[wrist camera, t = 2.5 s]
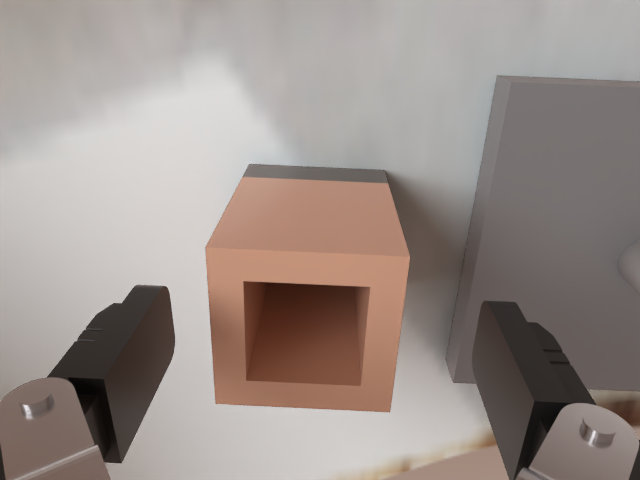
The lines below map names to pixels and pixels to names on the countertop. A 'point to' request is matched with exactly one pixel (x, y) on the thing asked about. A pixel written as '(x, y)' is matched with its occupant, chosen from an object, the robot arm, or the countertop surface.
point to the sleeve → (307, 290)
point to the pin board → (559, 224)
